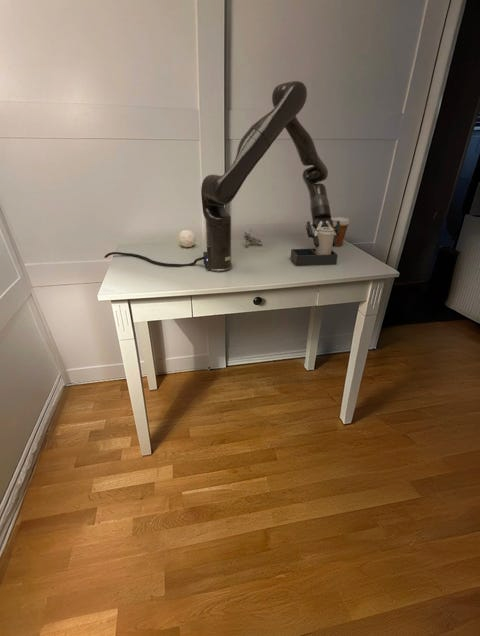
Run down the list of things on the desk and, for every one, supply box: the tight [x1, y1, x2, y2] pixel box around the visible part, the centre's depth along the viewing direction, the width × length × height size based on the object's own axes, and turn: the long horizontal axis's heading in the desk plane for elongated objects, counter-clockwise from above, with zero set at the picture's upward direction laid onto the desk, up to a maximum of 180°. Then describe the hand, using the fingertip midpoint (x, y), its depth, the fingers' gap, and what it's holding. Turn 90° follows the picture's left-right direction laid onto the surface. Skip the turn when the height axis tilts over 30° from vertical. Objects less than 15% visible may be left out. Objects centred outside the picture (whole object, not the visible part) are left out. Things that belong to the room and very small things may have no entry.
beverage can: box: [315, 227, 335, 255], centre depth 126 cm, size 6×6×12 cm
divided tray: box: [289, 247, 338, 267], centre depth 128 cm, size 17×9×4 cm, turn 97°
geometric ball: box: [177, 229, 197, 248], centre depth 142 cm, size 8×8×8 cm
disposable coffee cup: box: [331, 216, 351, 247], centre depth 146 cm, size 10×10×12 cm
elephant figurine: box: [243, 228, 263, 248], centre depth 146 cm, size 10×6×9 cm
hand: (325, 245), depth 125 cm, fingers closed on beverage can, 6 cm apart
